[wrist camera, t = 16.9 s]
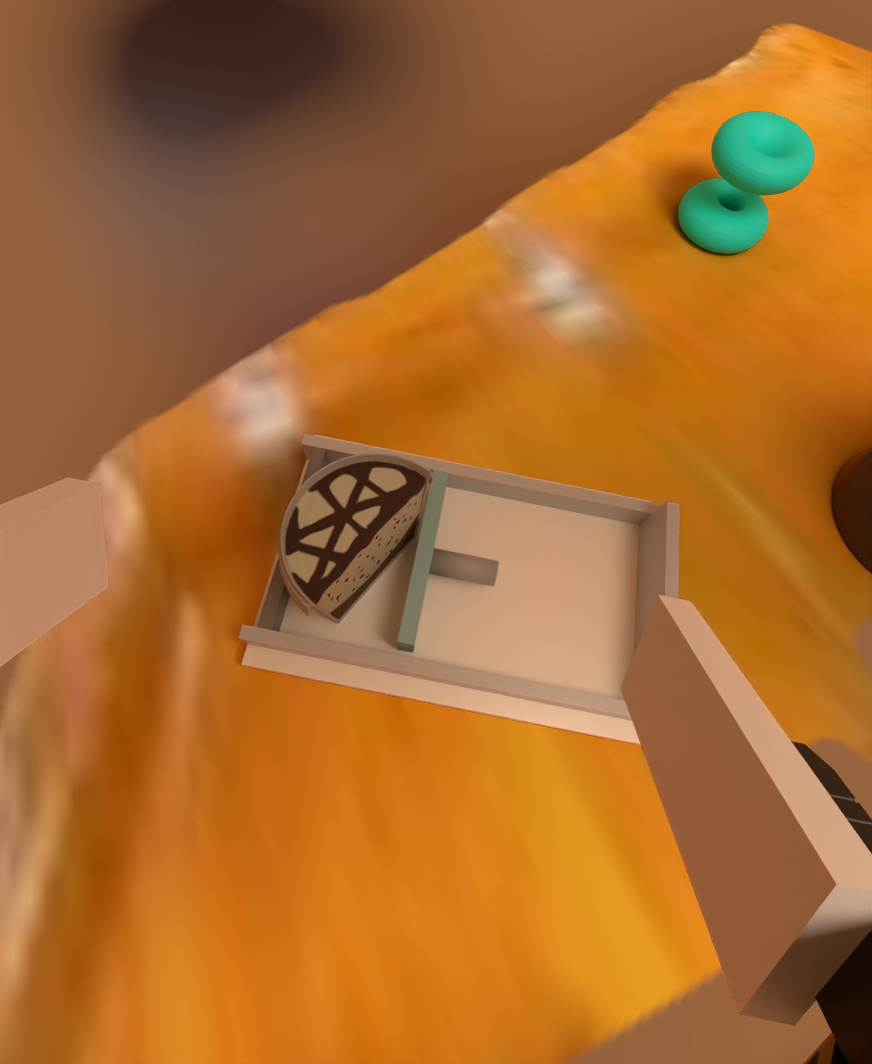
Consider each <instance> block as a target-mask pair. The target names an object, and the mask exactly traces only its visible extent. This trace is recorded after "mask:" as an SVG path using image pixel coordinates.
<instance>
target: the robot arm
mask: <svg viewBox="0 0 872 1064" xmlns="http://www.w3.org/2000/svg"><path fill="white" fill-rule="evenodd" d="M833 508H834V514H835V518H836V521H837V524H838V527H839V529H840V531H841V533H842V535H843V537H844V539H845V541H846V542H847V544H848V546H849V547H850V548H851V550H852V551H853V553H854V554H855V555H856V556H857V558H858V559H859V560H860V561H861V562H862V563H863V564H864V565H865V566H866V567H867V568H868V569H869V570H870V571H871V572H872V447H871V448H869V449H867V450H866V451H864V452H862V453H861V454H859V455H857V456H856V457H854V458H853V459H851V460H850V461H849V462H848V463H846V464H845V466H844V467H843V468H842V469H841V471H840V472H839V474H838V476H837V478H836V481H835V484H834V489H833ZM108 586H109V585H108V573H107V561H106V549H105V536H104V524H103V512H102V500H101V487H100V484H98V483H93V482H88V481H83V480H78V479H73V478H65V479H63V480H60V481H58V482H55V483H53V484H50V485H48V486H46V487H43V488H40V489H38V490H36V491H33V492H31V493H28V494H26V495H23V496H21V497H18V498H16V499H13V500H11V501H8V502H6V503H3V504H1V505H0V666H2V665H3V664H4V663H6V662H7V661H9V660H10V659H11V658H13V657H14V656H15V655H17V654H18V653H19V652H21V651H22V650H23V649H25V648H26V647H28V646H29V645H30V644H32V643H33V642H34V641H36V640H37V639H38V638H40V637H41V636H42V635H44V634H45V633H46V632H48V631H49V630H50V629H52V628H53V627H54V626H56V625H57V624H59V623H60V622H61V621H63V620H64V619H65V618H67V617H68V616H69V615H71V614H72V613H73V612H75V611H76V610H77V609H79V608H80V607H81V606H83V605H84V604H86V603H87V602H88V601H90V600H91V599H92V598H94V597H95V596H96V595H98V594H99V593H100V592H102V591H103V590H104V589H106V588H107V587H108ZM620 689H621V691H622V694H623V697H624V700H625V702H626V705H627V708H628V711H629V713H630V716H631V719H632V722H633V724H634V727H635V730H636V733H637V735H638V738H639V741H640V744H641V746H642V749H643V752H644V755H645V757H646V760H647V763H648V766H649V768H650V771H651V774H652V777H653V779H654V782H655V785H656V788H657V790H658V793H659V796H660V799H661V801H662V804H663V807H664V810H665V812H666V815H667V818H668V821H669V823H670V826H671V829H672V832H673V834H674V837H675V840H676V843H677V845H678V848H679V851H680V854H681V856H682V859H683V862H684V865H685V867H686V870H687V873H688V876H689V878H690V881H691V884H692V887H693V889H694V892H695V895H696V898H697V900H698V903H699V906H700V909H701V911H702V914H703V917H704V920H705V922H706V925H707V928H708V931H709V933H710V936H711V939H712V942H713V944H714V947H715V950H716V953H717V955H718V958H719V961H720V964H721V966H722V969H723V972H724V975H725V977H726V980H727V983H728V986H729V988H730V991H731V994H732V997H733V999H734V1002H735V1005H736V1008H737V1010H738V1013H739V1014H741V1015H746V1016H752V1017H756V1018H761V1019H766V1020H772V1021H776V1022H781V1023H786V1024H791V1025H795V1024H796V1023H797V1022H798V1021H799V1020H800V1018H801V1017H802V1016H803V1015H804V1014H805V1012H806V1011H807V1010H808V1009H809V1008H810V1006H811V1005H812V1004H813V1003H814V1002H815V1001H816V1000H817V1002H818V1004H819V1006H820V1008H821V1010H822V1012H823V1015H824V1016H825V1019H826V1021H827V1023H828V1025H829V1027H830V1029H831V1031H832V1033H831V1034H830V1035H829V1036H828V1037H827V1038H826V1039H825V1041H824V1042H823V1043H822V1044H821V1045H820V1046H819V1047H818V1048H817V1049H816V1050H815V1051H814V1053H813V1054H812V1055H811V1056H810V1057H809V1058H808V1059H807V1060H806V1062H804V1064H872V819H871V818H870V817H869V815H868V814H867V813H866V812H865V810H864V809H863V807H862V806H861V805H860V804H859V803H855V797H854V796H853V794H852V793H851V792H850V790H849V789H848V788H847V787H846V785H845V784H844V783H843V782H842V780H841V779H840V777H839V776H838V775H837V773H836V772H835V771H834V770H833V769H832V768H831V767H830V766H829V765H828V764H826V763H825V762H824V761H823V760H822V759H821V758H820V757H819V756H817V755H816V754H815V753H814V752H813V751H812V750H811V749H809V748H808V747H807V746H806V745H805V744H802V743H797V742H792V741H791V740H790V739H789V738H788V736H787V735H786V733H785V732H784V731H783V729H782V728H781V726H780V725H779V724H778V722H777V721H776V719H775V718H774V717H773V715H772V714H771V712H770V711H769V710H768V708H767V707H766V705H765V704H764V703H763V701H762V700H761V698H760V697H759V696H758V694H757V693H756V691H755V690H754V689H753V687H752V686H751V684H750V683H749V682H748V680H747V679H746V677H745V676H744V675H743V673H742V672H741V670H740V669H739V668H738V666H737V665H736V663H735V662H734V661H733V659H732V658H731V656H730V655H729V654H728V652H727V651H726V649H725V648H724V647H723V645H722V644H721V642H720V641H719V640H718V638H717V637H716V635H715V634H714V633H713V631H712V630H711V628H710V627H709V626H708V624H707V623H706V621H705V620H704V619H703V617H702V616H701V614H700V613H699V612H698V610H697V609H696V607H695V606H694V605H693V603H692V602H691V601H687V600H682V599H677V598H672V597H667V596H662V595H658V597H657V599H656V602H655V604H654V607H653V609H652V612H651V614H650V617H649V619H648V622H647V624H646V627H645V629H644V632H643V634H642V636H641V639H640V641H639V644H638V646H637V649H636V651H635V654H634V656H633V659H632V661H631V664H630V666H629V669H628V671H627V674H626V676H625V679H624V681H623V683H622V686H621V688H620Z"/></svg>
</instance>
